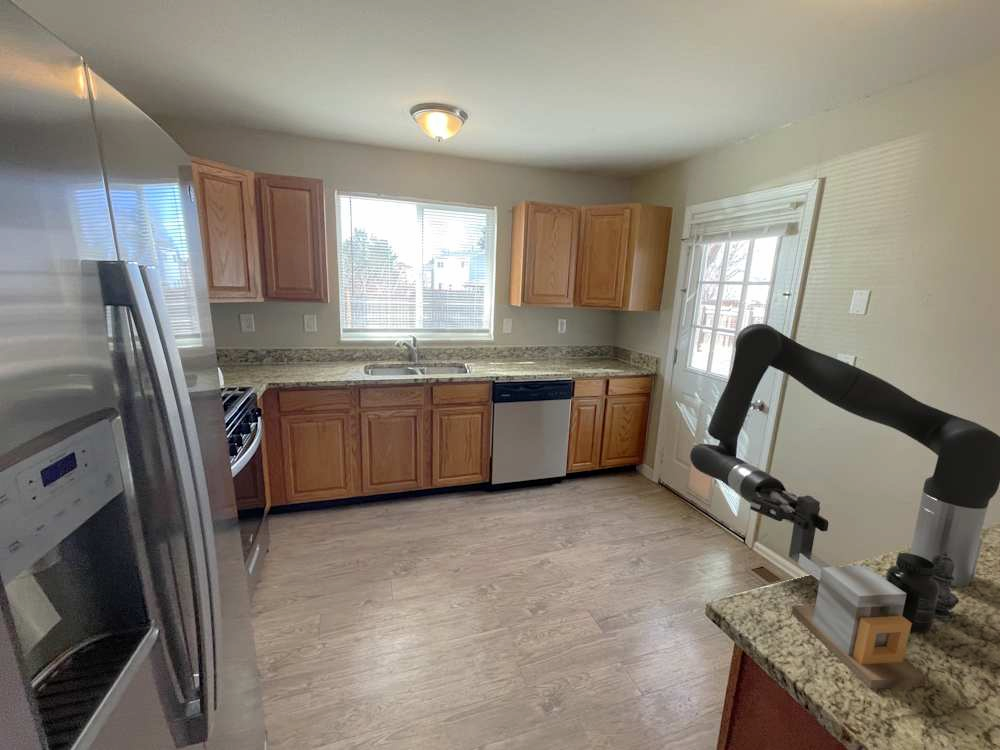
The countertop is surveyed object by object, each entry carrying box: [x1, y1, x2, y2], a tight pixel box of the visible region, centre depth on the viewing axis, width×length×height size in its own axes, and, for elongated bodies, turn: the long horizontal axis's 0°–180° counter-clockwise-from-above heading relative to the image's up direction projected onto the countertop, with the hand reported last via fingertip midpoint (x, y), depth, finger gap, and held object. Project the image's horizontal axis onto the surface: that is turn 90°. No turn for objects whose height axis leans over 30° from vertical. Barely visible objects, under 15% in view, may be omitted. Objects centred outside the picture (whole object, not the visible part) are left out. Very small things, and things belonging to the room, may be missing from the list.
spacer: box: [853, 616, 912, 664], centre depth 66 cm, size 7×2×7 cm, turn 95°
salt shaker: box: [932, 552, 960, 621], centre depth 79 cm, size 6×6×12 cm
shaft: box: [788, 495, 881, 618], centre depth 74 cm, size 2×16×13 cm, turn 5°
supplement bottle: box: [885, 552, 940, 634], centre depth 76 cm, size 7×7×12 cm
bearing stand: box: [791, 565, 928, 690], centre depth 70 cm, size 9×16×12 cm, turn 5°
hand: (818, 526), depth 78 cm, fingers closed on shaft, 2 cm apart
